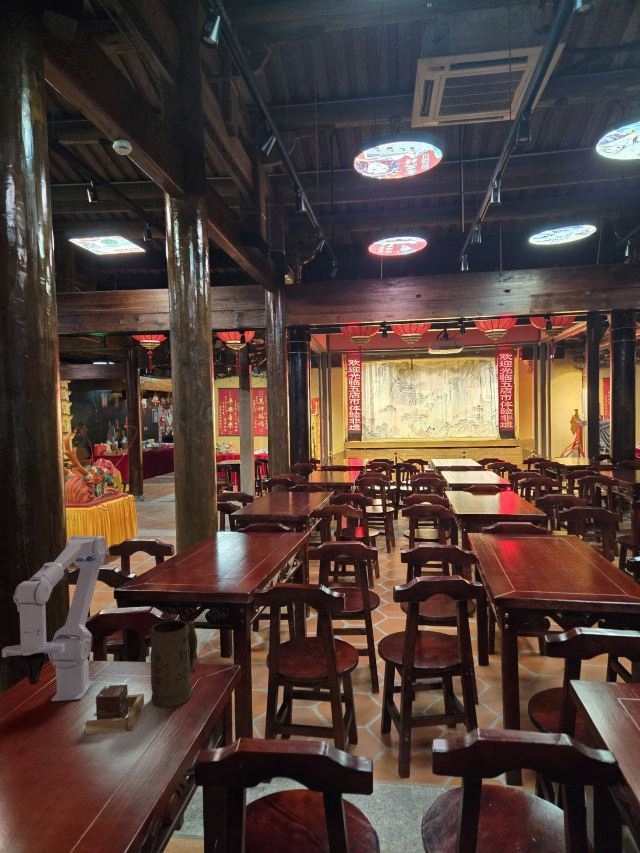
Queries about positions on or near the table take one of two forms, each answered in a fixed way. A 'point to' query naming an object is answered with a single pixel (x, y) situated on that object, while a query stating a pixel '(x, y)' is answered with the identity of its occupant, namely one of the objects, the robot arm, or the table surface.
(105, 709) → the box
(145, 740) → the table surface
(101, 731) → the slot rails
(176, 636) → the beer stein
